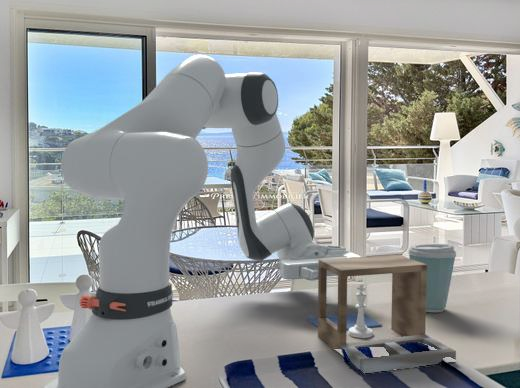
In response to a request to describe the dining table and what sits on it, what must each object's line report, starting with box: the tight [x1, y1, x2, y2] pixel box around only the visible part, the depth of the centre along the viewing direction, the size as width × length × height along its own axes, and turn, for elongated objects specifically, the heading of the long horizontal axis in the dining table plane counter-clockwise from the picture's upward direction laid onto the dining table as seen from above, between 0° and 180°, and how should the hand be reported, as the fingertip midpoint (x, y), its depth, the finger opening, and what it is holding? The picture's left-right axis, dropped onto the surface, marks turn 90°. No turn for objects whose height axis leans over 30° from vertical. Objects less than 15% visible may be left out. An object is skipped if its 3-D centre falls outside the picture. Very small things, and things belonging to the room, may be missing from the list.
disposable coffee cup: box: [407, 243, 457, 313], centre depth 124 cm, size 11×11×15 cm
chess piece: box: [347, 283, 374, 339], centre depth 107 cm, size 5×5×10 cm
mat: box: [307, 312, 383, 331], centre depth 114 cm, size 9×13×1 cm
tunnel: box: [317, 254, 457, 375], centre depth 99 cm, size 19×17×15 cm
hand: (335, 274), depth 118 cm, fingers open, 8 cm apart
